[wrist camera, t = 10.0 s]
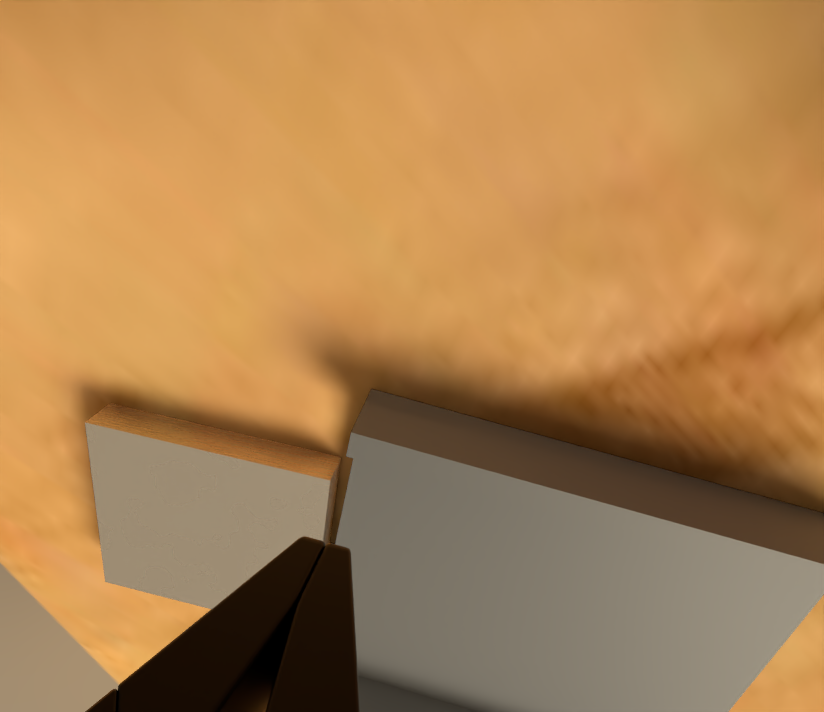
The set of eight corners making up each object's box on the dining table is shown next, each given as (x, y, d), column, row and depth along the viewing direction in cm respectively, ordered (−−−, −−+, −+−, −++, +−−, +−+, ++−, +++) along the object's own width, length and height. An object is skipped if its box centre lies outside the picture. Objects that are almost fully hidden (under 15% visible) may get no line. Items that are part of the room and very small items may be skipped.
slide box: (851, 520, 20) (905, 586, 17) (664, 760, 27) (682, 834, 24) (371, 388, 21) (351, 432, 18) (313, 655, 28) (293, 715, 25)
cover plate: (344, 450, 23) (330, 480, 21) (324, 598, 27) (311, 634, 25) (117, 397, 23) (85, 422, 21) (131, 550, 27) (105, 581, 25)
